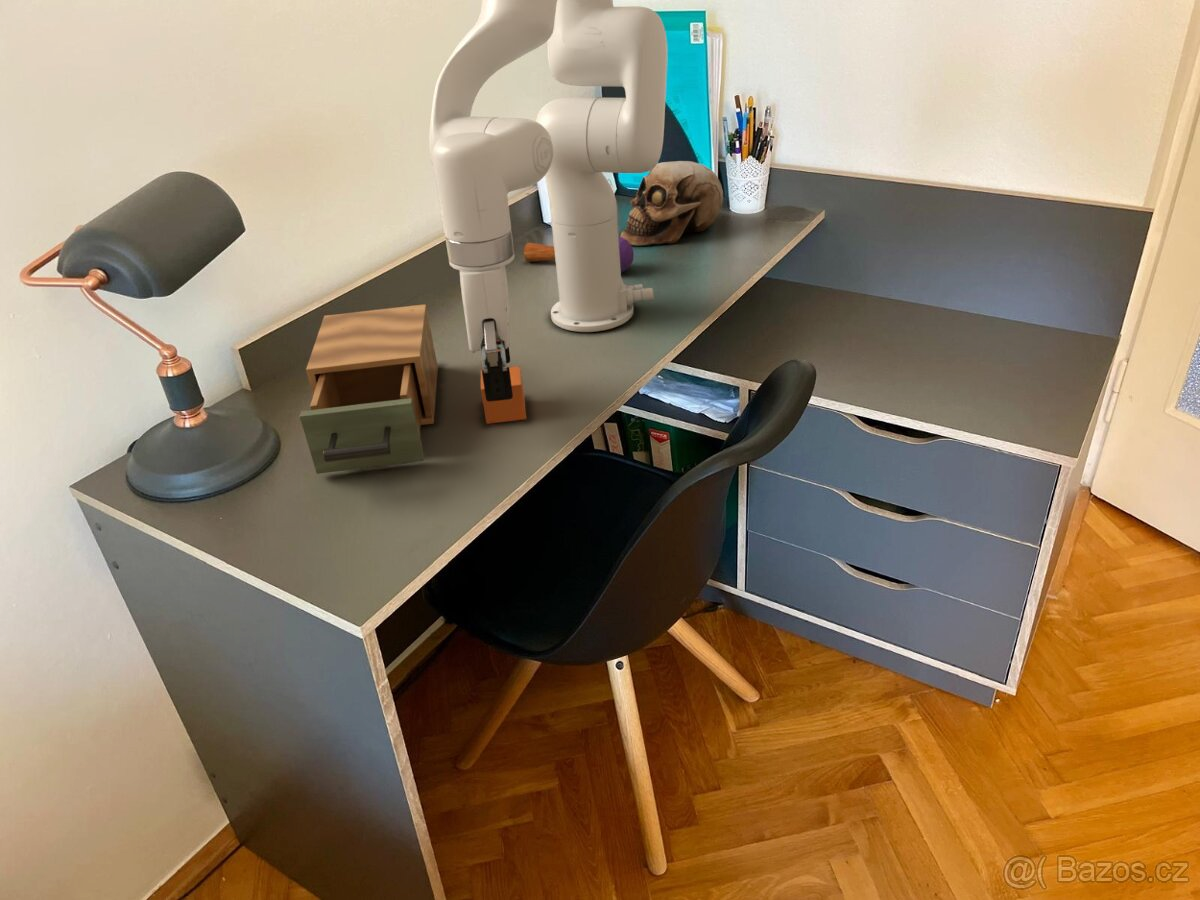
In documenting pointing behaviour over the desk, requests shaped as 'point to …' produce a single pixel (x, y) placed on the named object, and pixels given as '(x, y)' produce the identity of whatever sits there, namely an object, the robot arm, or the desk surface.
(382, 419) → the drawer
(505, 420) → the block
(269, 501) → the desk surface
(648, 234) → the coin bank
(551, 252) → the kendama
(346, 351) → the cabinet
